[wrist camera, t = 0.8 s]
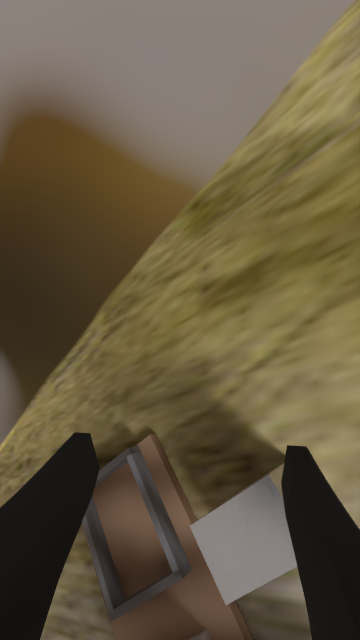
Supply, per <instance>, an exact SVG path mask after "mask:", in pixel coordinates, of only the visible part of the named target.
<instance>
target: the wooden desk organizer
mask: <svg viewBox="0 0 360 640" xmlns="http://www.w3.org/2000/svg"><path fill="white" fill-rule="evenodd" d="M196 521H197V519H196V517H195V515H194V513H193V511H192V509H191V507H190V504H189V502H188V500H187V498H186V496H185V494H184V492H183V490H182V488H181V485H180V483H179V481H178V479H177V477H176V475H175V473H174V471H173V469H172V466H171V464H170V462H169V460H168V458H167V456H166V454H165V452H164V450H163V447H162V445H161V443H160V441H159V439H158V437H157V435H156V434H150V435H149V436H147V437H146V438H145V439H143V440H142V441H141V442H140V443H138V444H137V445H136V446H134V447H129V448H127V449H126V450H125V451H123V452H122V453H121V454H120V455H118V456H117V457H116V458H114V459H113V460H112V461H111V462H109V463H108V464H107V465H106V466H104V467H103V468H102V469H100V470H99V474H98V477H97V481H96V485H95V488H94V491H93V495H92V498H91V500H90V503H89V506H88V508H87V511H86V513H85V516H84V518H83V520H82V525H83V529H84V532H85V535H86V539H87V542H88V546H89V549H90V553H91V556H92V560H93V563H94V567H95V570H96V574H97V577H98V580H99V584H100V587H101V591H102V594H103V598H104V601H105V605H106V608H107V612H108V615H109V619H110V622H111V626H112V629H113V632H114V636H115V639H116V640H254V639H253V637H252V635H251V633H250V631H249V629H248V627H247V625H246V623H245V620H244V618H243V616H242V614H241V612H240V610H239V608H238V606H237V604H236V601H233V602H231V603H229V604H228V605H225V602H224V600H223V598H222V596H221V594H220V591H219V589H218V587H217V585H216V583H215V581H214V578H213V576H212V574H211V572H210V570H209V567H208V565H207V563H206V561H205V559H204V557H203V554H202V552H201V550H200V548H199V546H198V544H197V541H196V539H195V537H194V535H193V533H192V530H191V528H190V525H192V524H193V523H195V522H196Z"/></svg>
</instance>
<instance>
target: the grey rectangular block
mask: <svg viewBox="0 0 360 640" xmlns="http://www.w3.org/2000/svg"><path fill="white" fill-rule="evenodd" d="M283 468H284V463H283V464H281V465H280V466H278V467H276V468H275V469H273V470H272V471H270V472H269V473H267V474H266V475H264V476H263V477H261V478H260V479H258V480H257V481H255V482H254V483H252V484H250V485H249V486H247V487H246V488H244V489H243V490H241V491H240V492H238V493H237V494H235V495H234V496H232V497H231V498H229V499H228V500H226V501H225V502H223V503H222V504H221V505H219V506H218V507H216V508H215V509H213V510H212V511H210V512H209V513H208V514H206V515H205V516H203V517H202V518H200V519H199V520H198V521H196V522H195V523H193V524H192V525H190V528H191V530H192V533H193V535H194V537H195V539H196V541H197V544H198V546H199V548H200V550H201V552H202V554H203V557H204V559H205V561H206V563H207V565H208V567H209V570H210V572H211V574H212V576H213V578H214V581H215V583H216V585H217V587H218V589H219V591H220V594H221V596H222V598H223V600H224V602H225V605H228V604H229V603H231V602H233V601H235V600H237V599H239V598H240V597H242V596H244V595H246V594H248V593H249V592H251V591H253V590H255V589H257V588H259V587H260V586H262V585H264V584H266V583H268V582H269V581H271V580H273V579H275V578H277V577H279V576H280V575H282V574H284V573H286V572H288V571H290V570H291V569H293V568H295V567H297V563H296V558H295V554H294V550H293V546H292V541H291V537H290V533H289V529H288V524H287V520H286V515H285V508H284V501H283V494H282V486H281V480H282V474H283Z"/></svg>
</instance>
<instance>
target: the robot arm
mask: <svg viewBox="0 0 360 640" xmlns="http://www.w3.org/2000/svg"><path fill="white" fill-rule="evenodd" d="M99 470H100V468H99V464H98V460H97V457H96V453H95V449H94V446H93V442H92V438H91V435H90V433H74V434H73V435H72V436H71V437H70V438H69V439H68V440H67V441H66V442H65V443H64V444H63V445H62V446H61V448H60V449H59V450H58V451H57V452H56V453H55V454H54V455H53V456H52V457H51V458H50V459H49V460H48V461H47V462H46V463H45V465H44V466H43V467H42V468H41V469H40V470H39V471H38V472H37V473H36V474H35V475H34V476H33V477H32V478H31V479H30V480H29V481H28V482H27V483H26V484H25V485H24V486H23V487H22V488H21V489H20V490H19V491H18V492H17V493H16V494H15V495H14V496H13V497H11V498H10V499H9V500H8V501H7V502H6V503H5V504H4V505H3V506H2V507H1V508H0V640H40V637H41V634H42V631H43V627H44V624H45V621H46V618H47V614H48V611H49V608H50V605H51V602H52V599H53V596H54V593H55V589H56V586H57V583H58V580H59V578H60V575H61V572H62V570H63V567H64V564H65V562H66V560H67V557H68V555H69V552H70V550H71V547H72V545H73V542H74V540H75V538H76V535H77V533H78V530H79V528H80V525H81V523H82V520H83V518H84V516H85V513H86V511H87V508H88V506H89V503H90V500H91V498H92V495H93V491H94V488H95V485H96V481H97V477H98V474H99ZM281 486H282V494H283V501H284V508H285V515H286V520H287V524H288V529H289V533H290V537H291V541H292V546H293V550H294V554H295V558H296V563H297V567H298V571H299V575H300V579H301V584H302V588H303V592H304V596H305V601H306V606H307V611H308V616H309V622H310V629H311V635H312V640H360V529H359V528H358V527H357V525H356V524H355V522H354V521H353V520H352V518H351V517H350V515H349V514H348V512H347V511H346V509H345V508H344V506H343V505H342V503H341V502H340V500H339V499H338V497H337V496H336V494H335V493H334V491H333V490H332V488H331V487H330V485H329V483H328V482H327V480H326V479H325V477H324V475H323V474H322V472H321V470H320V469H319V467H318V465H317V464H316V462H315V460H314V458H313V457H312V455H311V453H310V451H309V449H308V448H307V447H304V446H288V445H287V450H286V456H285V462H284V468H283V474H282V480H281Z"/></svg>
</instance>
